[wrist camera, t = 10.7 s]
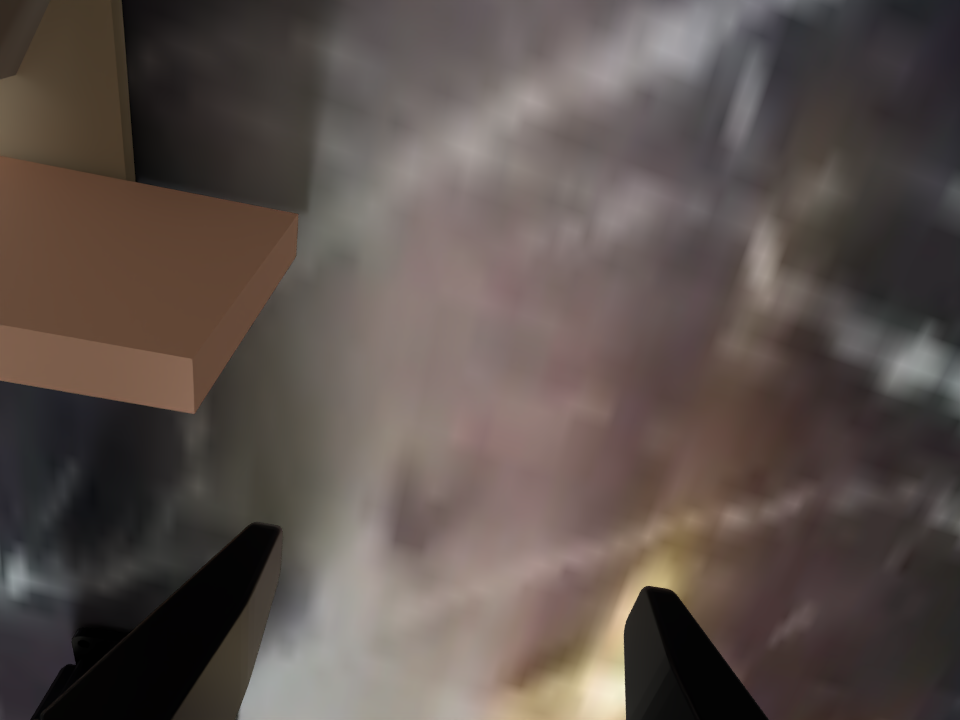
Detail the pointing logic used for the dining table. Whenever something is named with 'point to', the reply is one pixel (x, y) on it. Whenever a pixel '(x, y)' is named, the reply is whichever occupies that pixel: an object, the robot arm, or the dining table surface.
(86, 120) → the dock
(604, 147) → the dining table surface
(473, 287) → the dining table surface
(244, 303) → the block
